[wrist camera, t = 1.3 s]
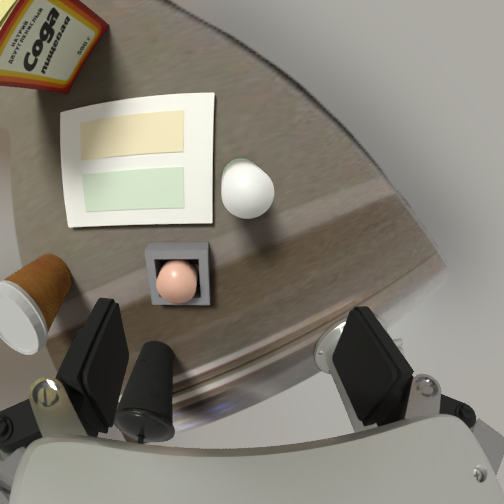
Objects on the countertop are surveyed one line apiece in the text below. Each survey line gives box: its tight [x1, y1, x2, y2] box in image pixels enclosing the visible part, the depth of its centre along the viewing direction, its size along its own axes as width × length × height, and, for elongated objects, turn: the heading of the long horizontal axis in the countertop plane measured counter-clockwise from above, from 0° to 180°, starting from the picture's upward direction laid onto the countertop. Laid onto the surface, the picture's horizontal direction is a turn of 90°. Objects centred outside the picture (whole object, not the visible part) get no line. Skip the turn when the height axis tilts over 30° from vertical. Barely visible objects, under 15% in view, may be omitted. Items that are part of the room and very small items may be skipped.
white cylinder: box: [221, 158, 274, 219], centre depth 25 cm, size 4×4×9 cm
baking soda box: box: [0, 0, 109, 94], centre depth 12 cm, size 10×6×16 cm
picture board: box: [60, 93, 215, 227], centre depth 26 cm, size 18×14×1 cm
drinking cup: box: [114, 341, 175, 444], centre depth 28 cm, size 8×8×20 cm
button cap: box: [156, 259, 198, 304], centre depth 30 cm, size 4×4×2 cm
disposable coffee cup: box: [0, 254, 72, 355], centre depth 25 cm, size 10×10×12 cm
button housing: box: [144, 242, 210, 305], centre depth 31 cm, size 7×7×2 cm
